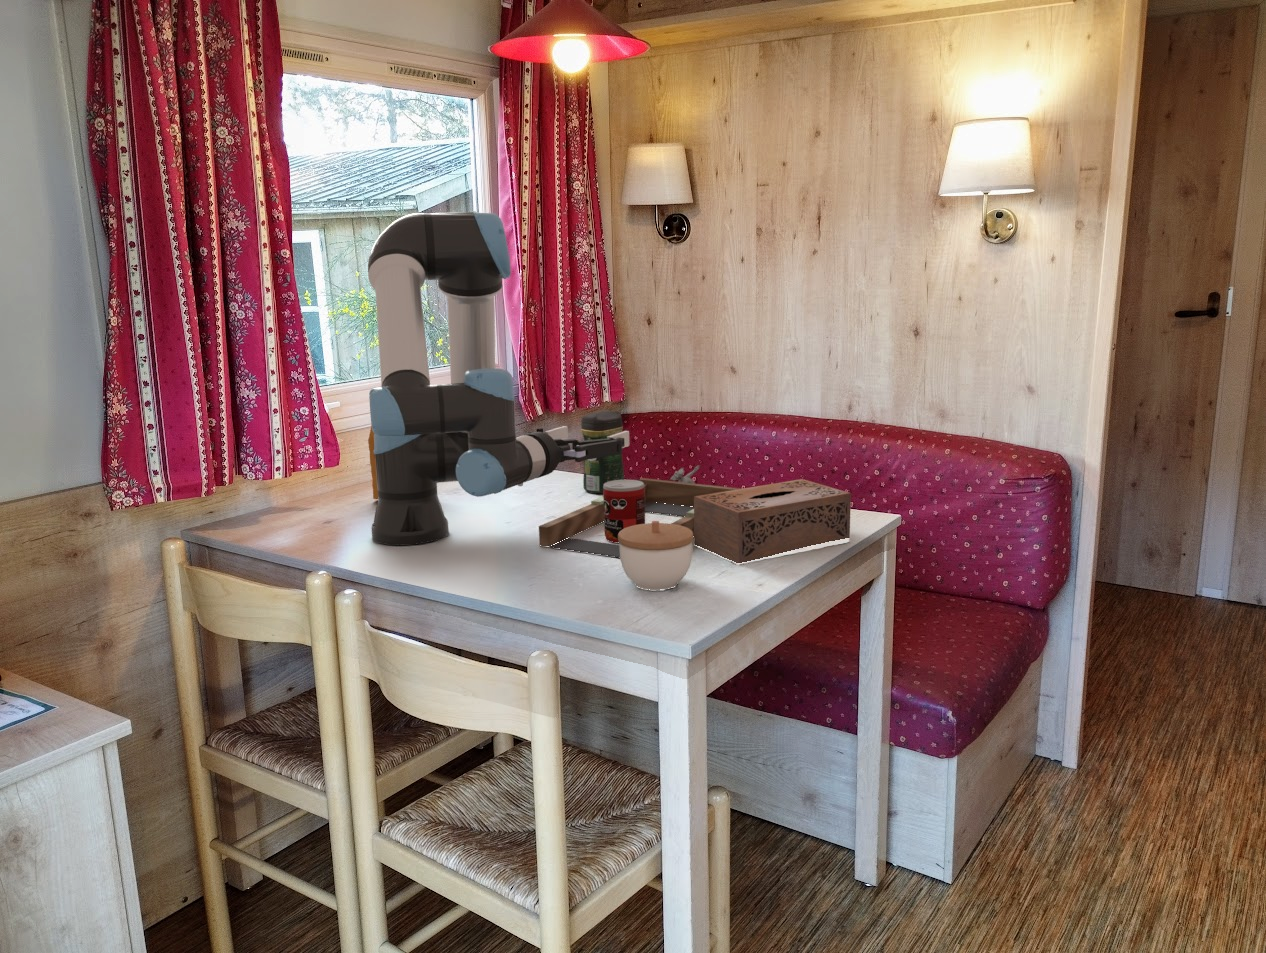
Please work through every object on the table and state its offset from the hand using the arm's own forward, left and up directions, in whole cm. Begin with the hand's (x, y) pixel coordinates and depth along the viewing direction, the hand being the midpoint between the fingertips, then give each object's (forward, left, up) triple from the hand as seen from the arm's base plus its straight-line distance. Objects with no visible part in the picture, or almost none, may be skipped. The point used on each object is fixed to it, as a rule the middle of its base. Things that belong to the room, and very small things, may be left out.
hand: (596, 435), depth 192 cm
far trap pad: (+32, 0, -22) cm, 39 cm away
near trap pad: (+1, 0, -22) cm, 22 cm away
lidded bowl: (-13, -19, -22) cm, 32 cm away
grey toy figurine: (+46, +4, -22) cm, 51 cm away
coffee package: (+14, +62, -22) cm, 67 cm away
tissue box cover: (+18, -27, -22) cm, 40 cm away
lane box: (+17, 0, -22) cm, 28 cm away
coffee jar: (+42, +25, -22) cm, 54 cm away
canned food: (+9, 0, -22) cm, 24 cm away
